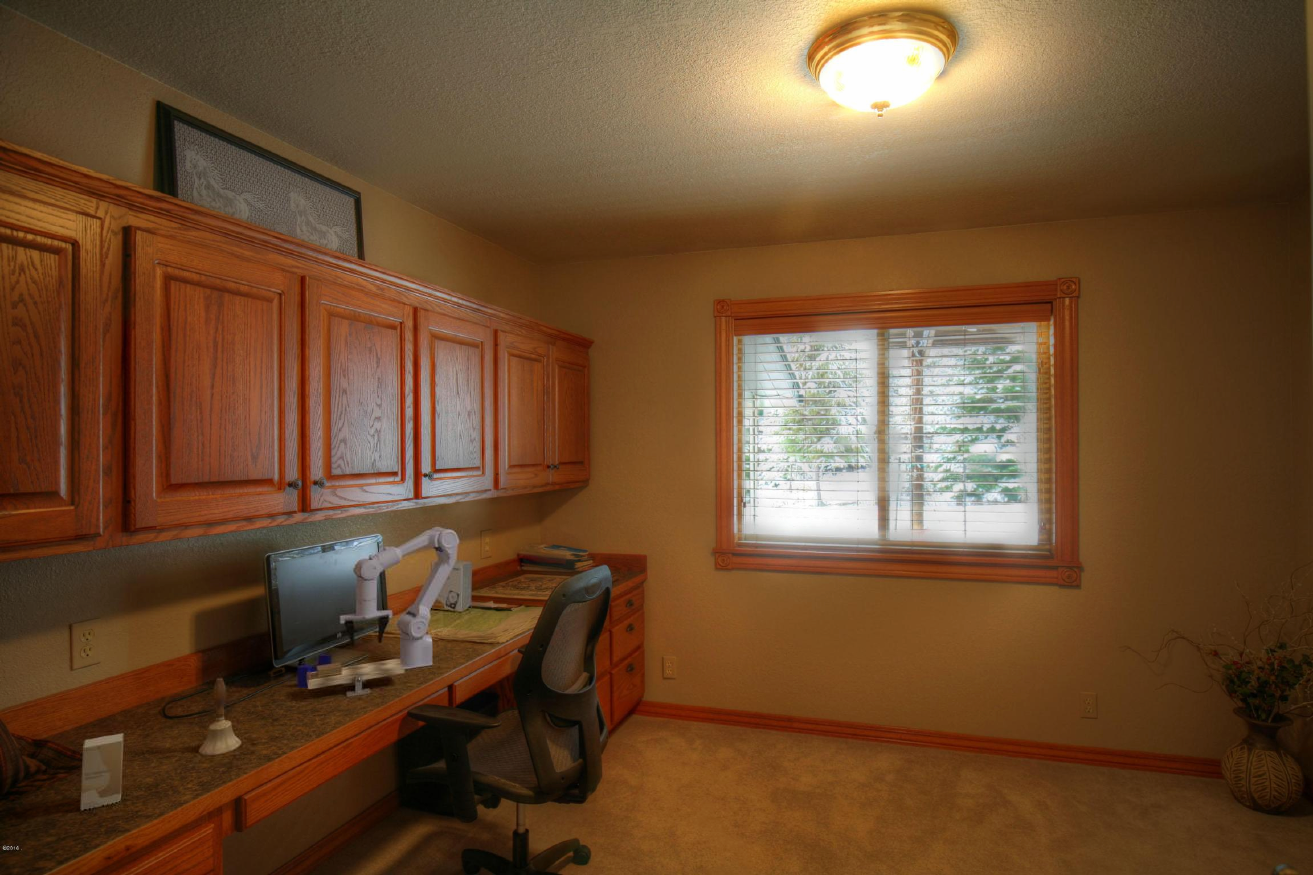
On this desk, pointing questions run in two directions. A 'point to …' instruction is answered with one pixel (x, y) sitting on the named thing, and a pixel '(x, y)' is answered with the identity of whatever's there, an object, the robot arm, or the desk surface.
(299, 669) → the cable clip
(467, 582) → the hard drive box
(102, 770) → the skincare box
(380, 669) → the balance beam
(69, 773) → the desk surface
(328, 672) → the block
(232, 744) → the hand bell
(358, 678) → the pivot stand
